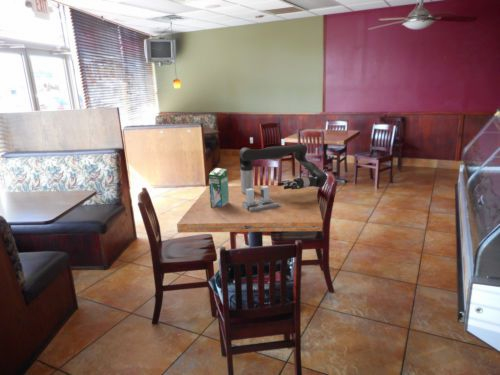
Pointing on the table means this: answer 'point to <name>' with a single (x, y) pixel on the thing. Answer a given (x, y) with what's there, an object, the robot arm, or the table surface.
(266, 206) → the rail board
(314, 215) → the table surface
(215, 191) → the milk carton
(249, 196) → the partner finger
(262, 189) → the loose finger
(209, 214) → the table surface
